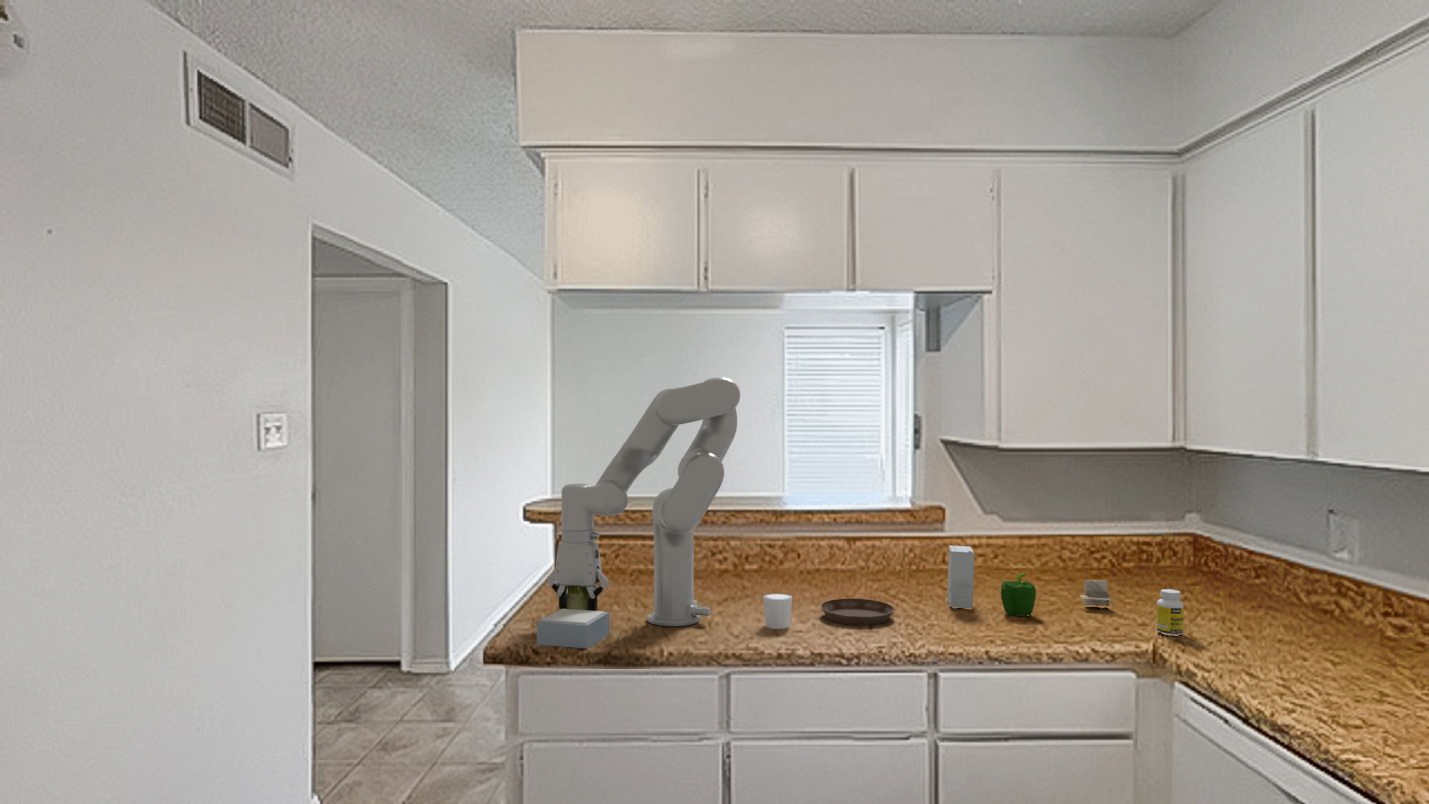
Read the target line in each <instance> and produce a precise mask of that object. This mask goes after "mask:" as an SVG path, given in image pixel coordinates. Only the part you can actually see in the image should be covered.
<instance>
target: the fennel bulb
mask: <svg viewBox="0 0 1429 804" xmlns="http://www.w3.org/2000/svg"><path fill="white" fill-rule="evenodd" d="M567 594H568V596H567V602H566V609H574V610H588V599H589V598H590V595H589V593H588V590H587V588H586V587H583V586H568V589H567Z"/></svg>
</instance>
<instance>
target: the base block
mask: <svg viewBox="0 0 1429 804" xmlns="http://www.w3.org/2000/svg"><path fill="white" fill-rule="evenodd" d="M609 635H610V612H609V611H608V612H607V611H603V610H602V611H601V610H599V611H598V610H597V611H588V610H574V609H558V610H556V611H554V612H552V613H550V614H548V615H547V616H544V617H541V618H540V619H539V620H537V621H536V645H539V646H552V647H565V648H575V649H590V648H591V647H593V646H594V645H596V644H597V643H599V642H600V641H602V640H604V639H605V638H606V637H608V636H609Z"/></svg>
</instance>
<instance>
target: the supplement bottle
mask: <svg viewBox="0 0 1429 804" xmlns="http://www.w3.org/2000/svg"><path fill="white" fill-rule="evenodd" d="M1160 597H1161V598H1160V599H1158V600H1157V601H1156V632H1157V631H1158V632H1162V633H1166V634H1171V635H1180V634H1183V635H1184V611H1185V610H1184V608H1185V607H1184V606H1185V605H1184V602H1182V601H1181V600H1180V599H1181V591H1180V590H1176V589H1169V588H1167V589H1161V590H1160Z"/></svg>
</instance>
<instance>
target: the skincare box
mask: <svg viewBox="0 0 1429 804" xmlns="http://www.w3.org/2000/svg"><path fill="white" fill-rule="evenodd" d="M947 570H948V571H947V573H948V574H947V576H948V577H947V603H948V606H949V608H950V607H958V608H973V609H974V583H975V582H974V581H975V579H974V576H975V552H974V550H973V548H972V547H971V546H969V545H968V546H965V545H949V546H948V569H947Z"/></svg>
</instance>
